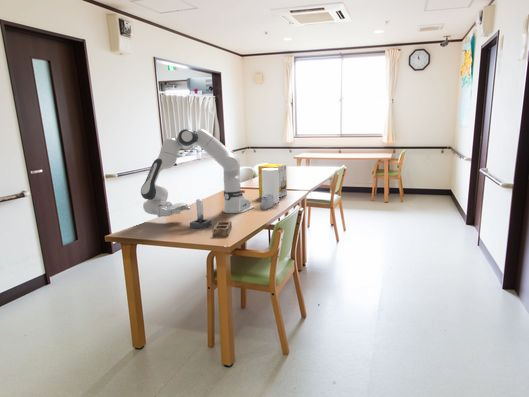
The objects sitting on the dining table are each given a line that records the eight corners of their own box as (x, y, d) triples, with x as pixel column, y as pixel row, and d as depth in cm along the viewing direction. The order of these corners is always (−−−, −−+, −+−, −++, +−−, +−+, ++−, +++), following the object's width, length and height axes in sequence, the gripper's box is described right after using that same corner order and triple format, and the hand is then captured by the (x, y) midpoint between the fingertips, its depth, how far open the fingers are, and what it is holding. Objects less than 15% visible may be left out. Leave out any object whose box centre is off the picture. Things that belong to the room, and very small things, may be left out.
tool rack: (213, 236, 204) (213, 229, 204) (218, 228, 219) (217, 221, 218) (228, 236, 204) (227, 228, 203) (231, 228, 219) (231, 221, 218)
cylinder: (269, 199, 291) (268, 167, 286) (282, 201, 284) (281, 168, 278) (259, 202, 282) (258, 169, 277) (272, 204, 274) (271, 170, 269)
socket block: (199, 223, 231) (198, 218, 230) (211, 224, 227) (211, 219, 226) (190, 227, 223) (189, 222, 222) (203, 228, 219) (202, 223, 218)
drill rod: (201, 225, 227) (199, 199, 224) (205, 225, 225) (203, 199, 222) (196, 226, 225) (194, 200, 221) (200, 227, 222) (198, 200, 219)
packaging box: (276, 199, 293) (276, 167, 288) (259, 197, 301) (258, 166, 296) (286, 195, 306) (286, 164, 301) (269, 193, 315) (268, 163, 310)
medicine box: (268, 206, 270) (268, 194, 268) (273, 206, 267) (273, 195, 266) (261, 208, 264) (261, 196, 262) (266, 209, 262) (266, 197, 260)
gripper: (177, 209, 243) (195, 211, 237) (155, 217, 225) (174, 219, 219) (176, 200, 242) (194, 201, 236) (154, 207, 224) (173, 208, 218)
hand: (184, 210), depth 227 cm, fingers open, 8 cm apart
